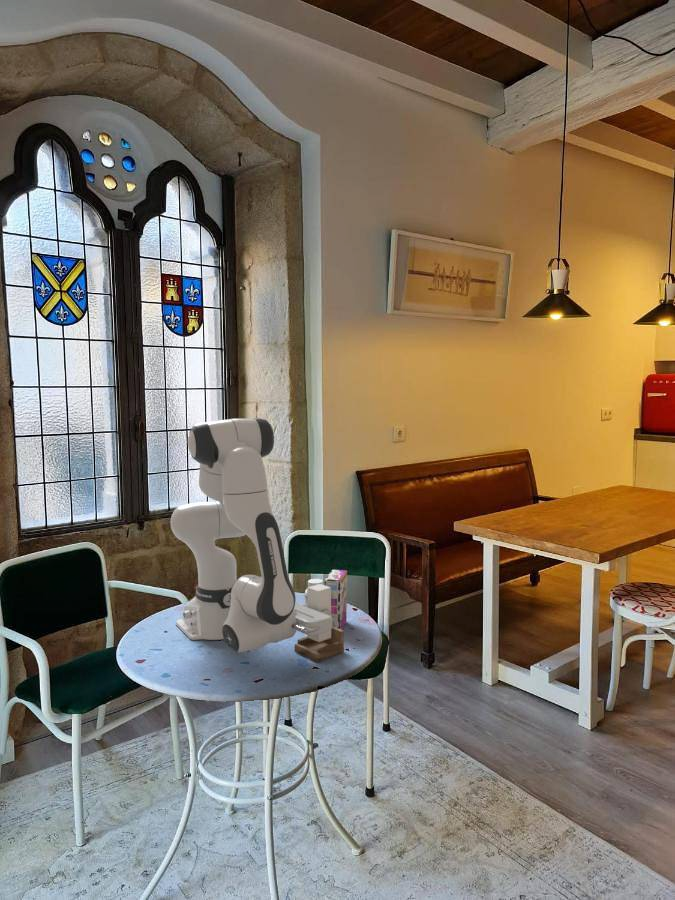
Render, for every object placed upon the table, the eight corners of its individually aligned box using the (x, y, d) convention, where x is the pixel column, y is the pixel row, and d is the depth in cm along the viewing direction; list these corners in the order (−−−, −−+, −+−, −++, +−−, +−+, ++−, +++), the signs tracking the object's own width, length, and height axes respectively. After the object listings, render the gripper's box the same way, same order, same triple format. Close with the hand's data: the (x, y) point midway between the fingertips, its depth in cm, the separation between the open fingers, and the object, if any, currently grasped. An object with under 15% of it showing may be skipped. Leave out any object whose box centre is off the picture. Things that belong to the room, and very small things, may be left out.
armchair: (294, 651, 173) (294, 630, 173) (320, 641, 180) (320, 621, 179) (317, 662, 167) (317, 640, 166) (343, 651, 173) (343, 630, 172)
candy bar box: (340, 635, 184) (340, 580, 183) (323, 634, 185) (323, 579, 184) (347, 621, 195) (347, 569, 194) (331, 620, 196) (331, 568, 195)
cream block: (307, 637, 173) (307, 587, 171) (321, 632, 176) (321, 583, 175) (318, 642, 169) (318, 591, 168) (332, 637, 173) (332, 587, 171)
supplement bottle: (321, 616, 200) (321, 576, 199) (330, 623, 194) (330, 582, 193) (301, 619, 197) (301, 579, 196) (310, 626, 191) (310, 585, 190)
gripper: (307, 620, 155) (348, 607, 165) (258, 600, 170) (298, 589, 179) (307, 645, 156) (348, 630, 165) (258, 623, 171) (298, 611, 180)
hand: (321, 609), depth 172 cm, fingers closed on cream block, 4 cm apart
